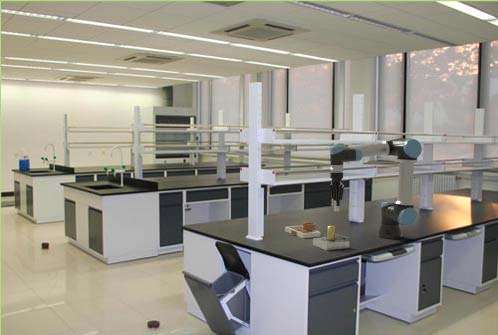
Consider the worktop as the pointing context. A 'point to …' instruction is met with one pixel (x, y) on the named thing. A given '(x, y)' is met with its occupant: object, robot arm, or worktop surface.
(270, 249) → the worktop surface
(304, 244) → the worktop surface
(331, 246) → the jig
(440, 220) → the worktop surface
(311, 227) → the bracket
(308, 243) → the worktop surface
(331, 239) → the gold brass cylinder
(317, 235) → the cradle
